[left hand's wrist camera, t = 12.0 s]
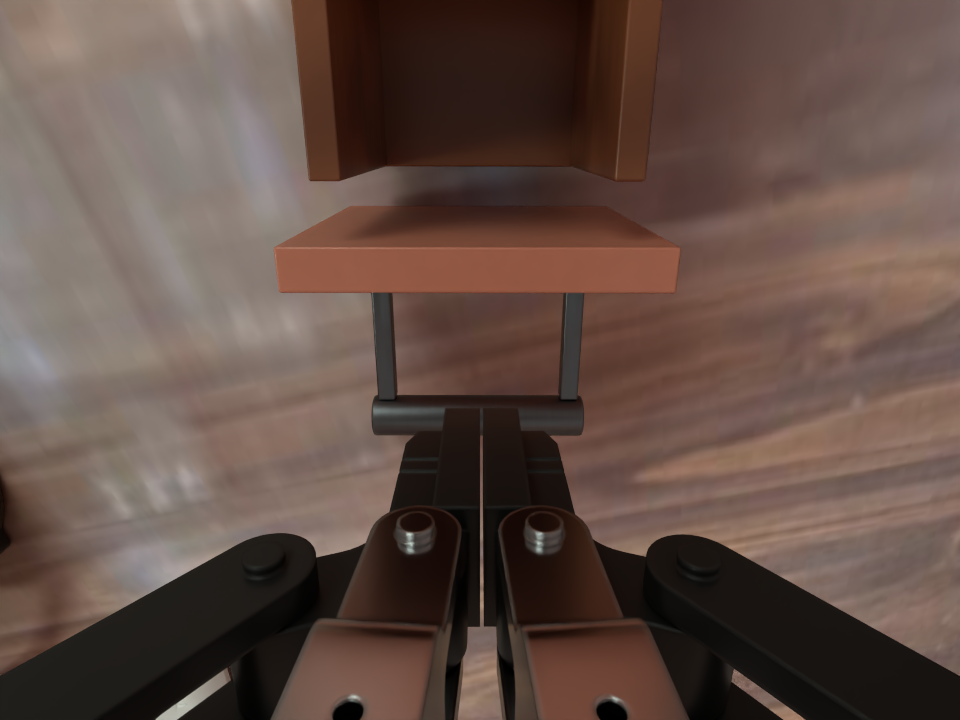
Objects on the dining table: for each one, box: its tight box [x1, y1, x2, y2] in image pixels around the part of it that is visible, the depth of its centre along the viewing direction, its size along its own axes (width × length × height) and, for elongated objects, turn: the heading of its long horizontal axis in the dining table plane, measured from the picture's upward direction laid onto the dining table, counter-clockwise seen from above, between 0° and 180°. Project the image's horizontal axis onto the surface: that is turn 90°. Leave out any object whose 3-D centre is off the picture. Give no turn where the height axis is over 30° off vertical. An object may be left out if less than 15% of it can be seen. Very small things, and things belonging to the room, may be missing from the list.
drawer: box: [274, 0, 681, 436], centre depth 18 cm, size 24×10×9 cm, turn 0°
